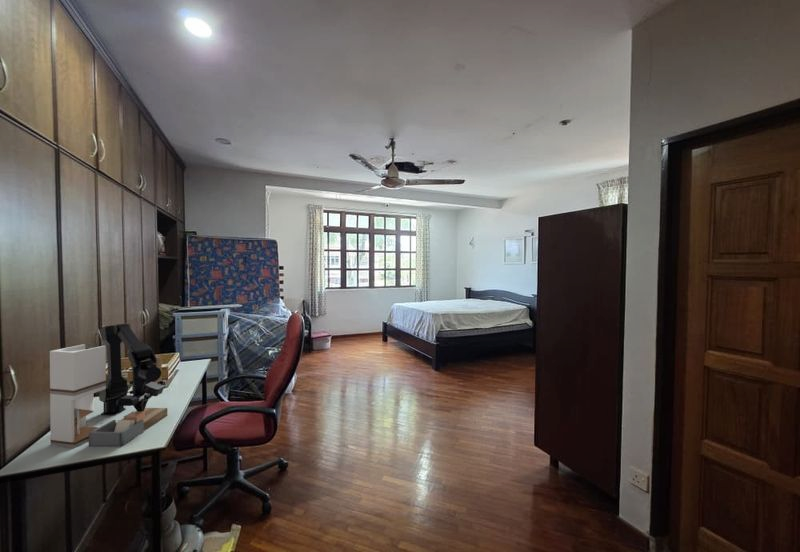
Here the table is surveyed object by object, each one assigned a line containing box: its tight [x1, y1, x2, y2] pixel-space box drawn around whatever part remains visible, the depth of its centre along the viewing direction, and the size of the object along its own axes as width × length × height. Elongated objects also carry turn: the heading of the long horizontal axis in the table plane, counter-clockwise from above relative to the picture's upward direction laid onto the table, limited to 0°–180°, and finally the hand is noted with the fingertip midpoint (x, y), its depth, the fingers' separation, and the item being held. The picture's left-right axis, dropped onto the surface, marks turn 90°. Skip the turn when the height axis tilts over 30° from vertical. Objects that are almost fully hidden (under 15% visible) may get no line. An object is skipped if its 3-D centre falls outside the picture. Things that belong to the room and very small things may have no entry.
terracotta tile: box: [123, 410, 145, 423], centre depth 140 cm, size 5×5×2 cm
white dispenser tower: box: [49, 343, 107, 449], centre depth 130 cm, size 11×11×35 cm
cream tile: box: [114, 419, 135, 432], centre depth 134 cm, size 5×5×2 cm
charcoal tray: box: [88, 419, 145, 448], centre depth 131 cm, size 12×11×5 cm
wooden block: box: [149, 355, 162, 383], centre depth 180 cm, size 9×4×18 cm, turn 6°
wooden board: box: [116, 407, 168, 432], centre depth 144 cm, size 11×15×4 cm
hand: (141, 414), depth 143 cm, fingers closed
